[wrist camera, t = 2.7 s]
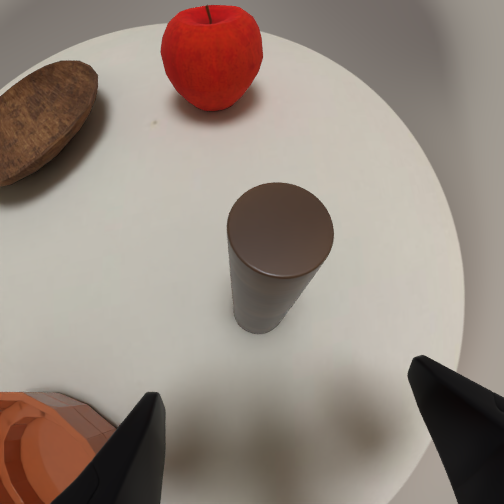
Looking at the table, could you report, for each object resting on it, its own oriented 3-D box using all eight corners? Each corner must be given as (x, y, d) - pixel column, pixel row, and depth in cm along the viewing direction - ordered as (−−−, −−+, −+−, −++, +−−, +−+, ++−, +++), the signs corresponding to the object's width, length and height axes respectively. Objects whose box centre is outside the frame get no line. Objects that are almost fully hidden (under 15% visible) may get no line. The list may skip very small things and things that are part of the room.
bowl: (75, 71, 34) (66, 47, 30) (139, 128, 29) (128, 93, 24) (-23, 149, 28) (-38, 129, 24) (0, 244, 23) (-29, 222, 18)
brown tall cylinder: (292, 314, 22) (355, 237, 10) (253, 343, 21) (272, 301, 9) (263, 276, 23) (288, 166, 11) (223, 304, 22) (205, 214, 10)
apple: (244, 72, 33) (247, -13, 22) (272, 119, 30) (285, 17, 18) (166, 87, 32) (151, 1, 20) (179, 139, 28) (159, 33, 17)
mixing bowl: (189, 513, 15) (175, 546, 10) (73, 551, 12) (46, 573, 7) (82, 363, 19) (42, 357, 14) (-10, 425, 16) (-48, 426, 11)
